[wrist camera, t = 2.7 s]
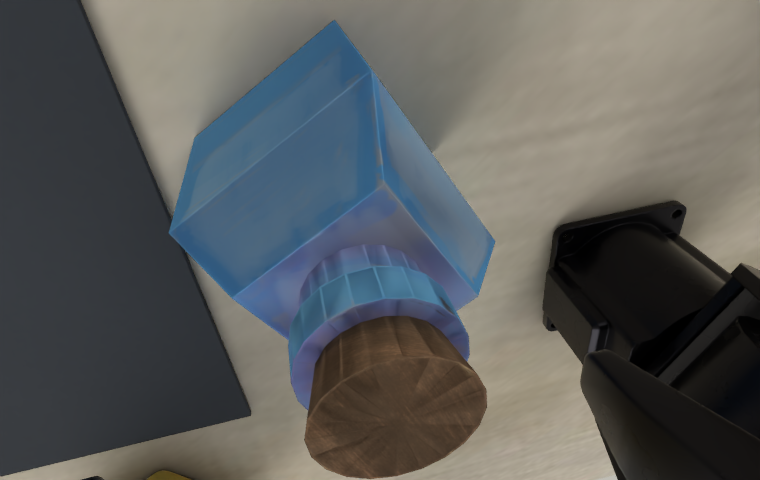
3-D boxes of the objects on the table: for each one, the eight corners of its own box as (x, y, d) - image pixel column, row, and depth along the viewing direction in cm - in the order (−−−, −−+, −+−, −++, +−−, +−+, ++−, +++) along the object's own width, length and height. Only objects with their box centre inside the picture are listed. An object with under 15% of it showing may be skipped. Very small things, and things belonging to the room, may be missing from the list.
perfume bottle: (194, 138, 17) (110, 445, 7) (334, 19, 16) (463, 191, 6) (310, 246, 20) (361, 554, 10) (431, 155, 19) (616, 406, 9)
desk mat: (68, -29, 14) (65, -28, 13) (251, 411, 25) (251, 416, 25) (-430, 38, 12) (-444, 40, 12) (3, 471, 24) (0, 476, 23)
